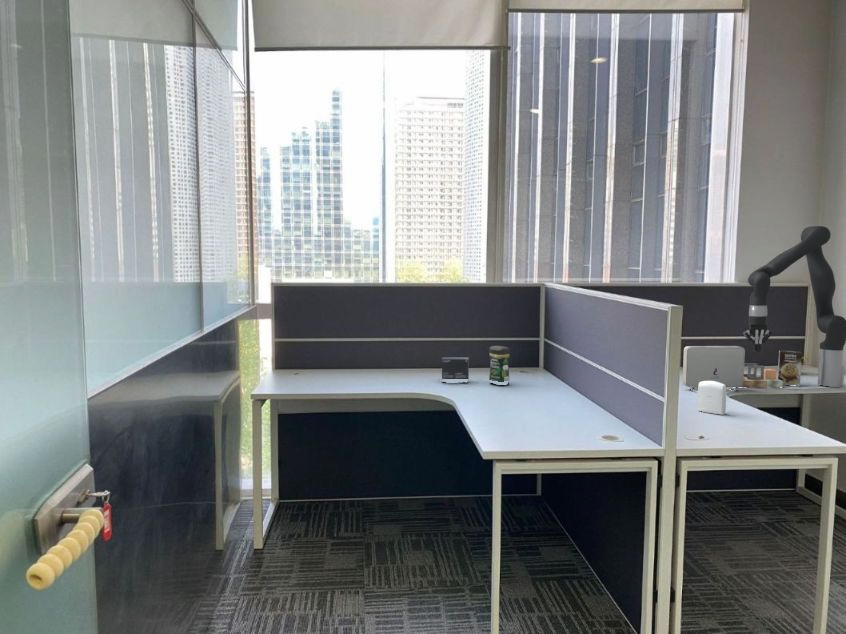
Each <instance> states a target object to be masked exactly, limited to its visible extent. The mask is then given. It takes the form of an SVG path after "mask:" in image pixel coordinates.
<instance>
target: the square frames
mask: <svg viewBox="0 0 846 634" xmlns="http://www.w3.org/2000/svg"><path fill="white" fill-rule="evenodd" d="M744 366H746V367H747V373H744V377H747V379H750V380H764V369H765V366H764V365H758V363H754V362H753V363H746V362H744ZM752 369H753V373H751V372H752V371H751V370H752ZM757 369H760V375H761V377H756V375H758V374H757Z"/></svg>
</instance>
